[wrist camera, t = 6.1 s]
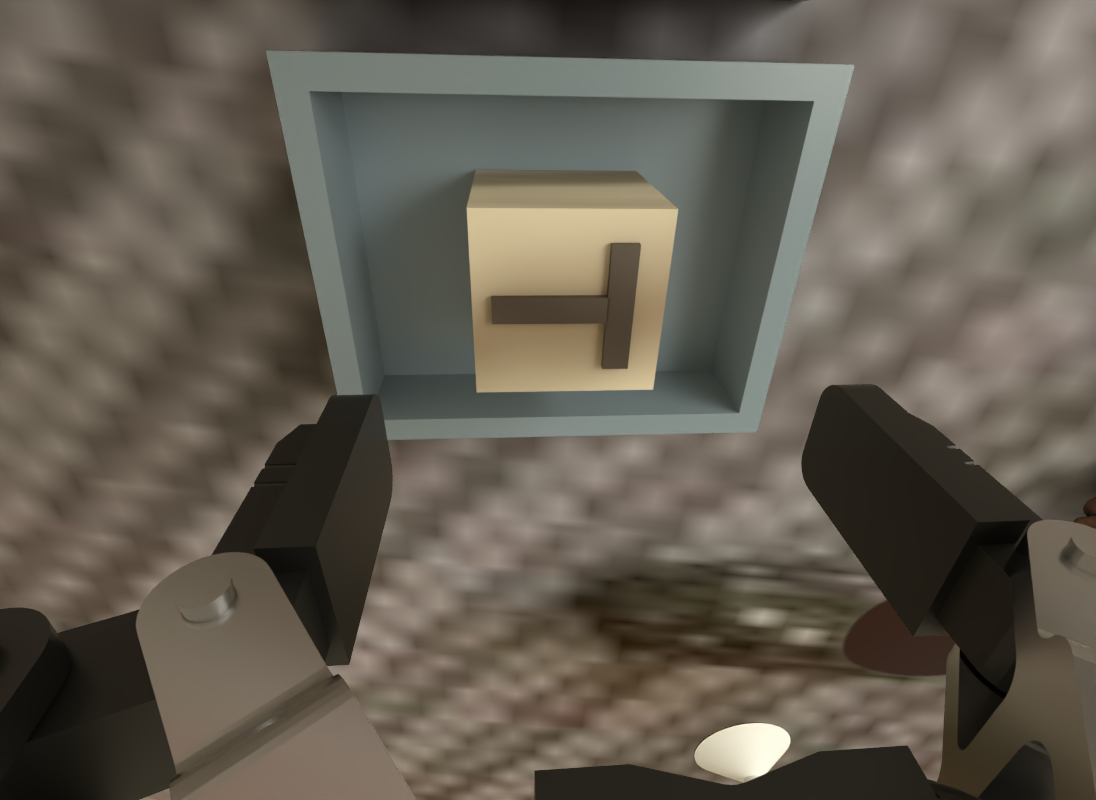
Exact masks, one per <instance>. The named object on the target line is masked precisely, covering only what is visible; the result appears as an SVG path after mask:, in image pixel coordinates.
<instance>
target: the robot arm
mask: <svg viewBox="0 0 1096 800" xmlns="http://www.w3.org/2000/svg"><path fill="white" fill-rule="evenodd" d="M802 474H803V478H804V481H805V483H806V485H807V487H808V489H809V490H810V491H811V493H812V494H813V496H814V497H815V499H816V500H817V501H818V503H819V504H820V506H821V507H822V508H823V510H824V511H825V513H826V514H827V515H828V517H829V518H830V520H831V521H832V523H833V524H834V525H835V527H836V528H837V530H838V531H839V532H840V534H841V535H842V537H843V538H844V539H845V541H846V542H847V544H848V545H849V547H850V548H851V549H852V551H853V552H854V554H855V555H856V556H857V558H858V559H859V561H860V562H861V564H862V565H863V566H864V568H865V569H866V571H867V572H868V573H869V575H870V576H871V578H872V579H873V580H874V582H875V583H876V585H877V586H878V588H879V589H880V590H881V592H882V593H883V595H884V596H885V597H886V599H887V600H888V602H889V603H890V604H891V606H892V607H893V609H894V610H895V611H896V613H897V614H898V616H899V617H900V619H901V620H902V621H903V623H904V624H905V625H906V627H907V628H908V630H909V631H910V633H911V634H912V636H914V637H918V636H936V635H950V636H951V638H952V639H953V640H954V642H955V643H956V644H955V646H954V647H953V649H952V650H951V652H950V654H949V655H948V659H947V671H946V691H945V711H944V732H943V752H942V764H941V770H940V774H939V778H938V781H937V782H935V781H932V780H928V779H927V778H926V776H925V775H924V773H923V771H922V769H921V768H920V766H919V764H918V763H917V761H916V759H915V758H914V756H913V754H912V752H911V751H910V749H909V747H908V746H895V747H880V748H865V749H850V750H835V751H820V752H817V753H814V754H812V755H810V756H807V757H805V758H802V759H800V760H798V761H795V762H793V763H790V764H788V765H786V766H783V767H781V768H778V769H776V770H774V771H771V772H769V773H766V774H764V775H762V776H759V777H757V778H754V779H752V780H750V781H747V782H745V783H742V784H738V785H724V784H719V783H714V782H710V781H705V780H700V779H696V778H691V777H686V776H682V775H677V774H672V773H668V772H663V771H658V770H654V769H649V768H644V767H639V766H635V765H630V764H627V765H612V766H597V767H583V768H568V769H553V770H538V771H535V800H1096V529H1095V528H1092V527H1089V526H1086V525H1082V524H1079V523H1075V522H1070V521H1065V520H1042V519H1041V518H1040V517H1039V516H1038V515H1036V514H1035V513H1034V512H1033V511H1032V510H1031V509H1029V508H1028V507H1027V506H1026V505H1025V504H1024V503H1022V502H1021V501H1020V500H1019V499H1018V498H1017V497H1015V496H1014V495H1013V494H1012V493H1011V492H1010V491H1008V490H1007V489H1006V488H1005V487H1004V486H1003V485H1001V484H1000V483H999V482H998V481H997V480H996V479H994V478H993V477H992V476H991V475H990V474H989V473H987V472H986V471H985V470H984V469H983V468H982V467H980V466H979V465H974V461H973V460H972V459H971V458H970V457H969V456H968V455H966V454H965V453H964V452H963V451H962V450H961V449H956V448H955V444H954V443H952V442H951V441H950V440H949V439H948V438H947V437H945V436H944V435H943V434H942V433H941V432H940V431H938V430H937V429H936V428H935V427H934V426H932V425H930V424H928V423H926V422H925V421H923V420H921V419H919V418H917V417H915V416H913V415H911V414H910V413H908V412H907V411H906V410H905V409H903V408H902V407H901V406H900V405H899V404H898V403H897V402H895V401H894V400H893V399H892V398H891V397H890V396H889V395H887V394H886V393H885V392H884V391H883V390H882V389H881V388H879V387H878V386H876V385H872V384H861V385H831V386H829V387H827V388H826V389H825V390H824V391H823V393H822V395H821V397H820V400H819V403H818V406H817V409H816V413H815V416H814V419H813V422H812V425H811V429H810V432H809V435H808V438H807V441H806V444H805V448H804V451H803V455H802ZM391 495H392V465H391V458H390V452H389V446H388V440H387V434H386V428H385V422H384V416H383V410H382V405H381V401H380V398H379V396H378V395H377V394H364V395H333V396H331V397H330V399H329V401H328V403H327V405H326V407H325V408H324V410H323V412H322V414H321V416H320V418H319V420H318V422H317V424H304V425H299V426H298V427H297V428H296V429H294V430H293V431H292V432H291V433H289V434H288V435H287V436H285V437H284V438H283V439H282V440H280V441H279V442H278V443H277V444H276V446H275V448H274V449H273V451H272V453H271V455H270V456H269V458H268V460H267V461H266V463H265V469H262V470H261V472H260V473H259V475H258V477H257V478H256V480H255V482H254V487H251V489H250V490H249V492H248V494H247V496H246V497H245V499H244V501H243V502H242V504H241V506H240V508H239V509H238V511H237V513H236V514H235V516H234V518H233V520H232V521H231V523H230V525H229V526H228V528H227V530H226V531H225V533H224V535H223V537H222V538H221V540H220V542H219V543H218V545H217V547H216V549H215V550H214V552H213V554H212V555H211V556H208V557H204V558H201V559H199V560H196V561H194V562H191V563H189V564H187V565H185V566H183V567H181V568H180V569H178V570H177V571H175V572H173V573H172V574H170V575H169V576H168V577H166V578H165V579H164V580H163V581H161V582H160V583H159V584H158V585H157V586H156V587H155V588H154V589H153V590H152V591H151V592H150V594H149V595H148V596H147V597H146V599H145V600H144V602H143V604H142V605H141V607H140V609H139V610H136V611H133V612H130V613H127V614H123V615H120V616H116V617H112V618H109V619H105V620H102V621H98V622H95V623H91V624H88V625H84V626H81V627H77V628H74V629H70V630H67V631H63V632H60V633H57V632H56V631H55V629H54V628H53V626H52V625H51V624H50V622H49V621H48V619H47V618H46V616H44V615H43V614H42V613H40V612H39V611H36V610H33V609H28V608H7V609H0V800H139V799H142V798H144V797H147V796H150V795H152V794H155V793H157V792H160V791H163V790H165V789H168V788H169V790H170V798H171V800H416V799H415V797H414V795H413V794H412V792H411V790H410V789H409V787H408V785H407V784H406V782H405V780H404V778H403V777H402V775H401V773H400V772H399V770H398V768H397V767H396V765H395V763H394V762H393V760H392V758H391V757H390V755H389V753H388V752H387V750H386V748H385V746H384V745H383V743H382V741H381V740H380V738H379V736H378V735H377V733H376V731H375V730H374V728H373V726H372V725H371V723H370V721H369V720H368V718H367V716H366V714H365V713H364V711H363V709H362V708H361V706H360V704H359V703H358V701H357V699H356V698H355V696H354V694H353V693H352V691H351V689H350V688H349V686H348V685H347V683H346V682H345V681H344V679H343V678H342V677H341V676H340V675H339V674H337V675H335V676H333V675H332V673H331V672H330V670H329V669H328V667H327V666H333V665H349V663H350V659H351V655H352V651H353V647H354V643H355V639H356V635H357V631H358V627H359V623H360V620H361V616H362V612H363V608H364V604H365V600H366V596H367V592H368V588H369V584H370V580H371V576H372V572H373V568H374V564H375V560H376V556H377V552H378V548H379V544H380V540H381V537H382V533H383V529H384V525H385V521H386V517H387V513H388V509H389V505H390V501H391Z"/></svg>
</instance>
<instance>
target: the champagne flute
mask: <svg viewBox="0 0 1096 800" xmlns="http://www.w3.org/2000/svg"><path fill="white" fill-rule="evenodd" d="M789 745H790V736H789V734H788V733H787V732H786V731H785V730H784V729H782V728H781V727H778V726H775V725H772V724H766V723H749V724H742V725H736V726H733V727H729V728H726V729H723V730H721V731H718V732H716V733H714V734H713V735H711V736H709V737H708V738H706V739H705V740H704V741H702V743H701V744H700V745H699V746H698V747H697V749H696V751H695V755H694V757H695V761H696V763H697V764H698V765H699V766H700V767H701V768H703V769H705V770H707V771H710V772H713V773H716V774H719V775H722V776H725V777H728V778H731V779H734V780H737V781H740V782H743V783H745V782H747V781H750V780H752V779H754V778H757V777H759V776H762V775H764V774H766V773H767V772H768V771H769V770H770V769H771V767H772V766H773V765H774V764H775V763H776V762H777V761H778V760H779V758H780V757H781V756H782V755H783V754H784V753H785V752H786V750H787V749H788V747H789Z"/></svg>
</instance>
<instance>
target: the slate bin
mask: <svg viewBox="0 0 1096 800" xmlns="http://www.w3.org/2000/svg"><path fill="white" fill-rule="evenodd" d="M266 54H267V59H268V64H269V68H270V73H271V78H272V83H273V88H274V92H275V97H276V102H277V107H278V112H279V116H280V121H281V126H282V131H283V136H284V140H285V145H286V150H287V155H288V160H289V164H290V169H291V174H292V179H293V184H294V188H295V193H296V198H297V203H298V208H299V212H300V217H301V222H302V227H303V232H304V236H305V241H306V246H307V251H308V256H309V261H310V265H311V270H312V275H313V280H314V285H315V289H316V294H317V299H318V304H319V309H320V313H321V318H322V323H323V328H324V333H325V337H326V342H327V347H328V352H329V357H330V361H331V366H332V371H333V376H334V381H335V385H336V390H337V395H364V394H377V395H378V396H379V398H380V401H381V405H382V410H383V416H384V422H385V428H386V434H387V440H409V439H455V438H502V437H549V436H595V435H642V434H689V433H736V432H757V429H758V426H759V422H760V418H761V414H762V411H763V407H764V403H765V399H766V396H767V392H768V388H769V384H770V381H771V377H772V373H773V370H774V366H775V362H776V358H777V355H778V351H779V347H780V343H781V340H782V336H783V332H784V328H785V325H786V321H787V317H788V313H789V310H790V306H791V302H792V298H793V295H794V291H795V287H796V283H797V280H798V276H799V272H800V268H801V265H802V261H803V257H804V253H805V250H806V246H807V242H808V238H809V235H810V231H811V227H812V223H813V220H814V216H815V212H816V208H817V205H818V201H819V197H820V193H821V190H822V186H823V182H824V178H825V175H826V171H827V167H828V163H829V160H830V156H831V152H832V148H833V145H834V141H835V137H836V133H837V130H838V126H839V122H840V118H841V115H842V111H843V107H844V103H845V100H846V96H847V92H848V88H849V85H850V81H851V77H852V73H853V70H854V66H855V65H847V64H822V63H797V62H760V61H719V60H678V59H637V58H596V57H554V56H513V55H472V54H431V53H390V52H349V51H266ZM476 169H500V170H594V171H637V172H638V173H639V174H640V175H641V176H642V177H644V178H645V179H646V180H647V181H648V182H649V183H650V184H651V185H652V186H653V187H655V188H656V189H657V190H658V191H659V192H660V193H661V194H662V195H663V196H664V197H666V198H667V199H668V200H669V201H670V202H671V203H672V204H673V205H674V206H675V207H677V208H678V215H677V223H676V230H675V237H674V244H673V251H672V258H671V265H670V272H669V280H668V287H667V294H666V301H665V308H664V315H663V322H662V330H661V337H660V344H659V351H658V358H657V365H656V372H655V379H654V387H653V390H601V391H538V392H477V391H476V372H475V354H474V335H473V317H472V298H471V280H470V261H469V243H468V224H467V204H468V200H469V196H470V192H471V188H472V183H473V179H474V175H475V171H476Z"/></svg>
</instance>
